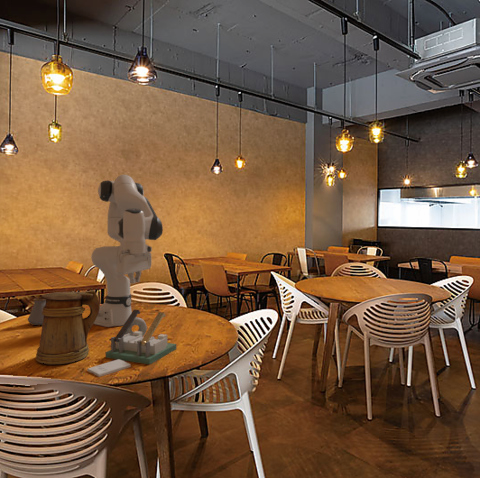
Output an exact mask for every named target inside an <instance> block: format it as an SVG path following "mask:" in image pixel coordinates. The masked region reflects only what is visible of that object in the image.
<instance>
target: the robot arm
mask: <svg viewBox="0 0 480 478" xmlns="http://www.w3.org/2000/svg"><path fill="white" fill-rule="evenodd" d="M144 191H145V190H144V187H143V185H142V184H141V183H139V182H135V180H134V178H133V177H131V176H130V175H129V174H120V175H118V176H117V177H115V179H114V180H110V179H109V180H108V179H107V180H103V181H101V182H100V183H99V186H98V188H97V193H98V197H99V199H100V200H101V201H102V202H107V203H109V202H110V203H109V206H108V211H107V230H106V231H107V232H106V233H107V235H108V236H109V238H111V239H113V240H115V241H118V243H119V244H120V245H117V246H115V245H113V246H111V245H109V246H108V245H107V246H106V245H105V246H100V247H95V249H94V250H93V251H92V253H91V256H90V257H91V258H90V259H91V262H92V264H93V266H95V267H96V268H98V270H100V271H101V272H102V274H103V276H104V277H105V280H106V285H107V287H106V288H107V295H106V296H103V298H102V299H103V300H104V303H102V305H100V309H99V314H98V316H97V318H96V320H95V322H94V323H93V325H96V326H101V327H104V328H105V327H106V328H111V327H120V326H122V327H123V325H124V324H125V322H126V321H127V319H128V318H129V316H130V315H131V313H132V312H133V310H132V294H131V284H133V285H134V284H136V283H140V280H141V276H142V271H146V270H150V269H151V267H152V258H153V257H152V251H153V247H152V246H150V245H148V244H147V243H146V242H147V241H146V240H148V241H157V240H159V238H160V237H161V236H162V235H163V231H164V229H163V224H162V221H161V219H160V218H159V217H158V215H157V214H156V212H155V209H154V208H153V206H152V204H151V203H150V201H149V199H148V198H147V197H146V196H144V195H145V192H144Z"/></svg>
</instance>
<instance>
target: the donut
mask: <svg viewBox="0 0 480 478" xmlns="http://www.w3.org/2000/svg"><path fill="white" fill-rule="evenodd" d="M134 326H138V330H137V331H141V332H142V337H144V336H145V334H146V333H147V331H148V327H147V322H145V320H144V319H143V318H140V317H138V316H136V318H135V319H134V321H133V322H132V324H131V325H130V327H129V328H128V330H127V331H126V333H125V334H124V335H126V334H128V333H130V335H131V336H133V332H134V331H133V330H132V328H133V327H134Z"/></svg>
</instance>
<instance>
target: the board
mask: <svg viewBox="0 0 480 478" xmlns="http://www.w3.org/2000/svg"><path fill="white" fill-rule="evenodd" d="M115 337H116V336H112V337H110V350H108V351H105V358H106V359H107V358H108V359H113V360H117V359H120V360H122V361H125V362H131V363H139V364H144V365H152V364H153V363H155V362H157V361H158V360H160V359H161V358H163V357H165V356H167V355H168V354H170V353H172V352H174V351H176V350H177V344H176V343H173V342H172V343H171V342H168V334H163V333H160V334H159V335H157V338H155V336H151V338H150V340H149V341H148V342H146V346H143V345H140V342H141V341H142V339H143V338H144V336H143V337H142V332H141V331H138V330H135V331H133V336H131V335H130V333H128V334H126V335H125V334H124V336H123V338H120V339H119V342H115V341H114V338H115Z"/></svg>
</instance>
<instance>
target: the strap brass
mask: <svg viewBox="0 0 480 478" xmlns="http://www.w3.org/2000/svg"><path fill="white" fill-rule="evenodd" d="M165 317H166V314H165V312H161V311H159V312H158V313H157V314H156V316H155V318H154V319H153V320H152V321H153V322H152V323H151V325H150V326H149V327H148V328H147V330H146V333H145V335H144V336H143V337H144V338H143V339H142V341H141V342H140V345H143V346H146V342H148V341H149V340H150V338H151V337H153V334H154V333H155V331H156V329H157V328H158V326H159V324H160V323H161V321H162V319H163V318H165Z"/></svg>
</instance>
